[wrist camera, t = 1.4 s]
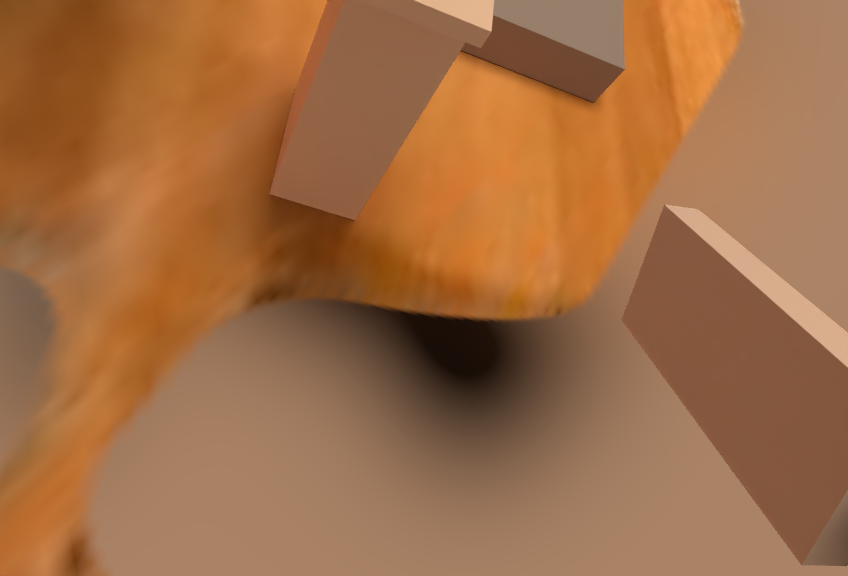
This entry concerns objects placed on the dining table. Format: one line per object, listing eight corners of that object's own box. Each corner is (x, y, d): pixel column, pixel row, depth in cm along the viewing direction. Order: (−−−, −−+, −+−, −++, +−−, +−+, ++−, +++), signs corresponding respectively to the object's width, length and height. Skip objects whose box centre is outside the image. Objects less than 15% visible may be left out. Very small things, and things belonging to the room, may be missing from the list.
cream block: (262, 222, 31) (368, -46, 19) (300, 68, 36) (408, -234, 23) (350, 248, 32) (504, 12, 20) (377, 96, 37) (519, -178, 24)
